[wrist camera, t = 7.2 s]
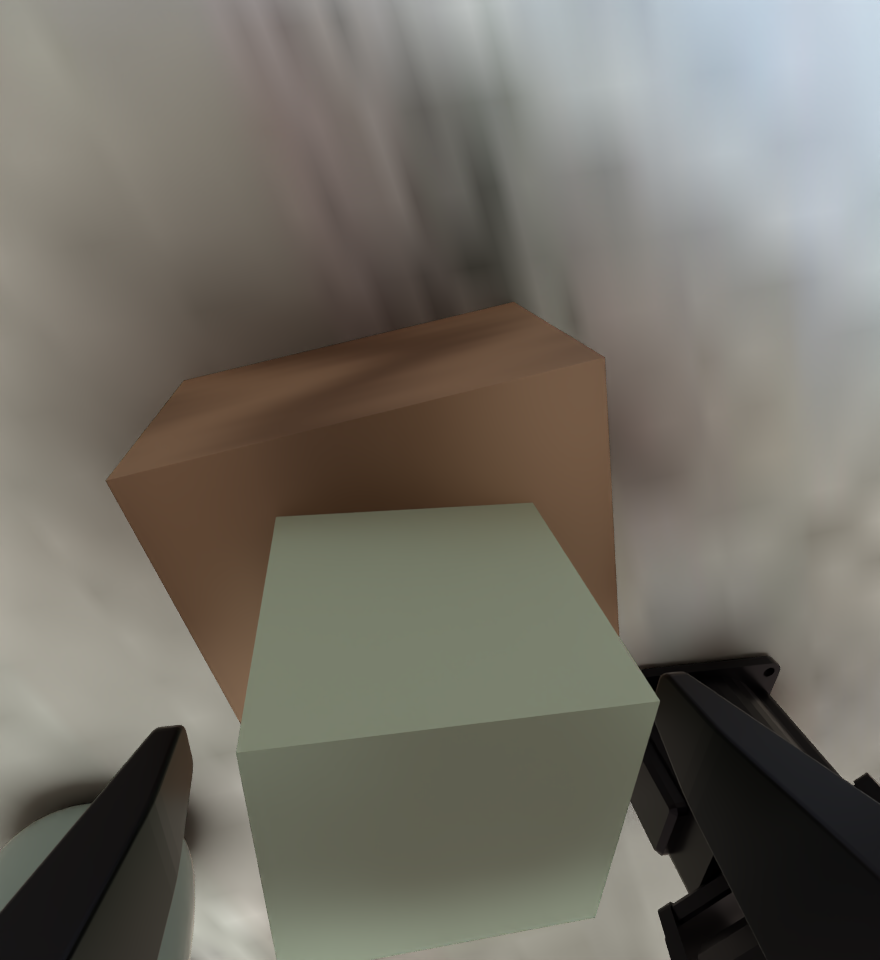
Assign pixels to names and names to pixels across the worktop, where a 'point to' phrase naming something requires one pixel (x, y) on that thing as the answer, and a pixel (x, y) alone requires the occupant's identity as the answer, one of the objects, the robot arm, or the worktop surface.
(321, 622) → the green cube
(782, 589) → the worktop surface
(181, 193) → the worktop surface
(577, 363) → the walnut block
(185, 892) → the cup
